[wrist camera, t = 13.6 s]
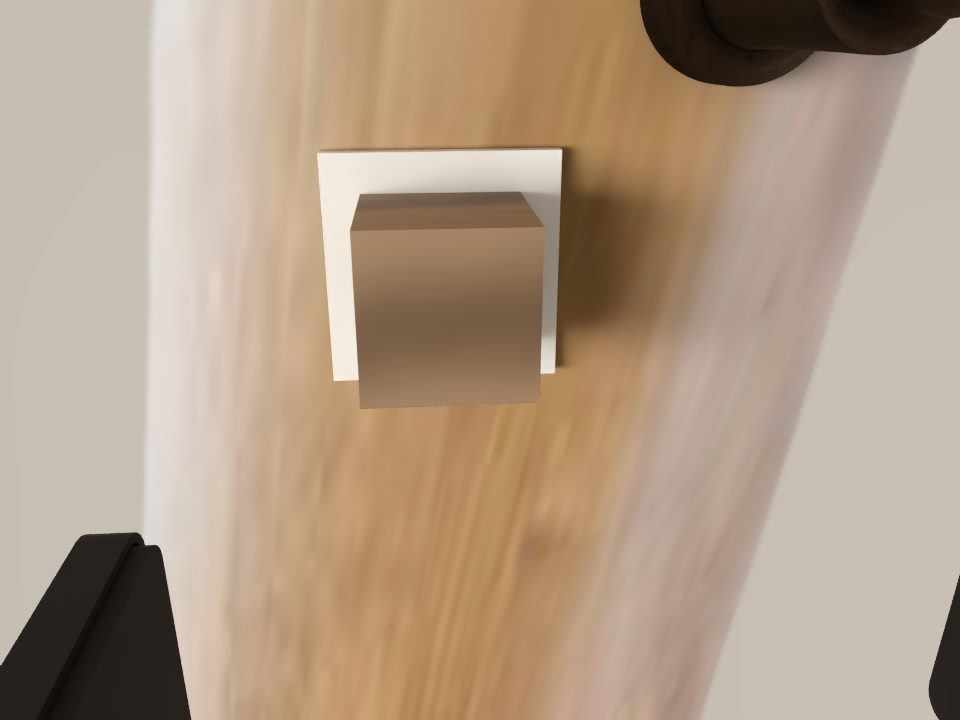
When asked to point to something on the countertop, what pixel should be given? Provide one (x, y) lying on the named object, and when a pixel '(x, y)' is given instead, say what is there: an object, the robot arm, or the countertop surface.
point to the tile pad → (431, 174)
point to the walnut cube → (447, 299)
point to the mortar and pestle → (782, 33)
